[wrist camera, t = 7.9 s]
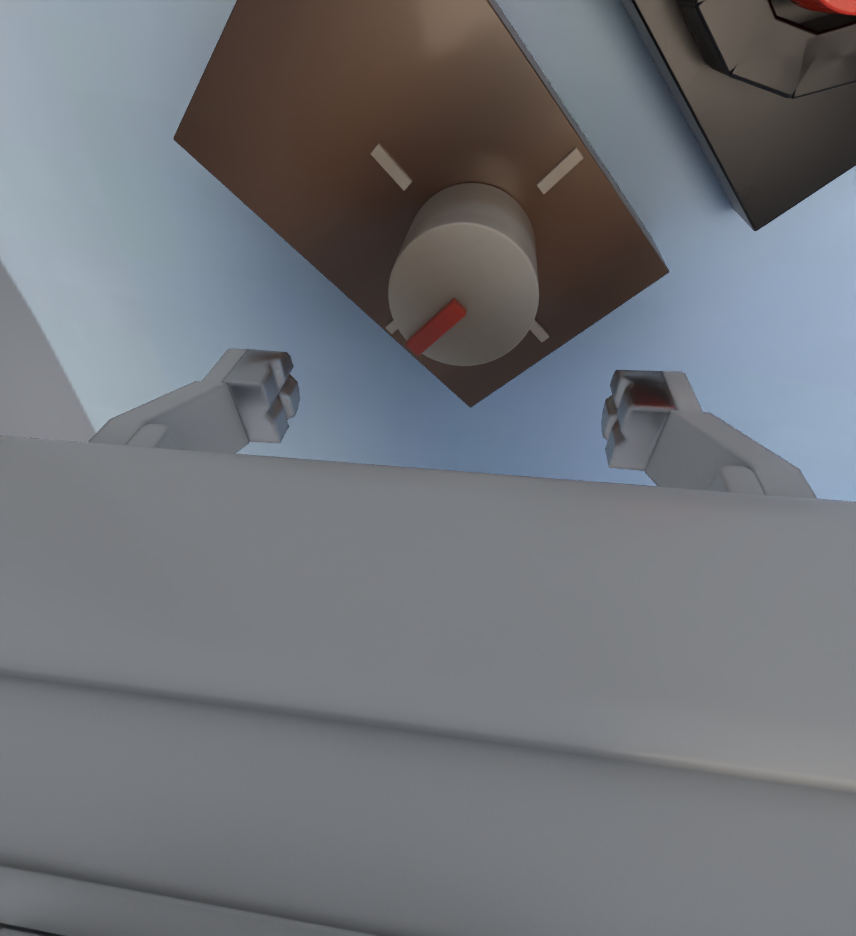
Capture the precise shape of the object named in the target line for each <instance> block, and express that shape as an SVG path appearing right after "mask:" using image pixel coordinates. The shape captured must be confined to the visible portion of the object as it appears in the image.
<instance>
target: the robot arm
mask: <svg viewBox="0 0 856 936" xmlns="http://www.w3.org/2000/svg"><path fill="white" fill-rule="evenodd" d="M292 369H293V363H292V360H291V356H290V355H289V354H288V353H287V352H279V351H266V350H252V349H251V350H249V349H235V348H233V349H228V350H227V351H226V352H225V354H224V355H223V356H222V357H221V358H220V360H219V361H218V362H217V363H216V364H215V366H214V367H213V368H212V369H211V370H210V372H209V373H208V374H207V375H206V376H205V378H204V379H203V380H202V381H201V382H200V381H195V382H193V383H191V384H188V385H186V386H184V387H182V388H179V389H177V390H175V391H173V392H170V393H168V394H166V395H164V396H161V397H159V398H157V399H155V400H152V401H150V402H148V403H146V404H143V405H141V406H139V407H137V408H134V409H132V410H130V411H127V412H125V413H123V414H121V415H118V416H116V417H114V418H112V419H110V420H109V421H108V422H107V423H106V424H105V425H104V426H103V427H102V428H101V429H100V430H99V431H98V432H97V433H96V434H95V435H94V436H93V437H92V438H91V439H90V440H89V442H77V441H64V440H50V439H38V438H26V437H12V436H0V936H856V502H851V501H838V500H825V499H817V498H816V496H815V494H814V493H813V491H812V489H811V488H810V486H809V484H808V483H807V481H806V479H805V478H804V476H803V474H802V473H801V471H800V469H798V468H797V467H795V466H794V465H792V464H791V463H789V462H787V461H786V460H784V459H783V458H781V457H779V456H778V455H776V454H775V453H773V452H771V451H770V450H768V449H767V448H765V447H764V446H762V445H760V444H759V443H757V442H756V441H754V440H752V439H751V438H749V437H748V436H746V435H745V434H743V433H741V432H740V431H738V430H737V429H735V428H733V427H732V426H730V425H729V424H727V423H725V422H724V421H722V420H721V419H719V418H718V417H716V416H714V415H713V414H711V413H709V412H703V411H702V409H701V407H700V405H699V402H698V400H697V398H696V396H695V394H694V392H693V389H692V387H691V385H690V383H689V381H688V379H687V377H686V374H685V373H683V372H679V371H634V370H616V371H615V373H614V375H613V377H612V380H611V384H610V387H611V391H612V395H611V396H610V397H609V398H607V399H606V400H605V404H604V408H603V412H602V420H601V428H602V435H603V437H604V438H605V439H606V440H607V445H606V448H605V450H606V455H607V460H608V465H609V468H619V469H629V470H639V471H645V473H646V474H647V475H648V476H649V477H650V478H651V479H652V480H653V482H654V483H655V484H656V485H657V486H646V485H633V484H620V483H607V482H594V481H581V480H568V479H555V478H542V477H529V476H516V475H503V474H490V473H478V472H465V471H452V470H439V469H426V468H413V467H400V466H387V465H374V464H361V463H348V462H335V461H322V460H310V459H297V458H284V457H271V456H258V455H245V454H235V453H236V452H238V451H239V450H241V449H242V448H243V447H245V446H246V445H247V444H249V442H267V443H281V441H282V439H283V437H284V435H285V433H286V431H287V429H288V428H289V425H288V421H287V420H289V419H290V418H292V417H294V416H295V414H296V412H297V410H298V407H299V401H300V393H299V387H298V382H297V381H296V380H295V379H294V378H293V377H292V376H291V375H290V373H291V371H292Z"/></svg>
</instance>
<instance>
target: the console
mask: <svg viewBox="0 0 856 936" xmlns="http://www.w3.org/2000/svg"><path fill="white" fill-rule="evenodd" d="M174 140H175V141H176V142H177V143H178V144H179V145H180V146H181V147H183V148H184V149H185V150H186V151H187V152H188V153H189V154H190V155H191V156H192V157H194V158H195V159H196V160H197V161H198V162H199V163H200V164H201V165H202V166H204V167H205V168H206V169H207V170H208V171H209V172H210V173H211V174H212V175H213V176H215V177H216V178H217V179H218V180H219V181H220V182H221V183H222V184H223V185H225V186H226V187H227V188H228V189H229V190H230V191H231V192H232V193H233V194H234V195H236V196H237V197H238V198H239V199H240V200H241V201H242V202H243V203H244V204H246V205H247V206H248V207H249V208H250V209H251V210H252V211H253V212H254V213H256V214H257V215H258V216H259V217H260V218H261V219H262V220H263V221H264V222H265V223H267V224H268V225H269V226H270V227H271V228H272V229H273V230H274V231H275V232H277V233H278V234H279V235H280V236H281V237H282V238H283V239H284V240H285V241H286V242H288V243H289V244H290V245H291V246H292V247H293V248H294V249H295V250H296V251H298V252H299V253H300V254H301V255H302V256H303V257H304V258H305V259H306V260H307V261H309V262H310V263H311V264H312V265H313V266H314V267H315V268H316V269H317V270H319V271H320V272H321V273H322V274H323V275H324V276H325V277H326V278H327V279H329V280H330V281H331V282H332V283H333V284H334V285H335V286H336V287H337V288H338V289H340V290H341V291H342V292H343V293H344V294H345V295H346V296H347V297H348V298H350V299H351V300H352V301H353V302H354V303H355V304H356V305H357V306H358V307H359V308H361V309H362V310H363V311H364V312H365V313H366V314H367V315H368V316H369V317H371V318H372V319H373V320H374V321H375V322H376V323H377V324H378V325H379V326H380V327H382V328H383V329H384V330H385V331H386V332H387V333H388V334H389V335H390V336H392V337H393V338H394V339H395V340H396V341H397V342H398V343H399V344H400V345H401V346H403V347H404V348H405V349H406V350H407V351H408V352H409V353H410V354H411V355H413V356H414V357H415V358H416V359H417V360H418V361H419V362H420V363H421V364H423V365H424V366H425V367H426V368H427V369H428V370H429V371H430V372H431V373H432V374H434V375H435V376H436V377H437V378H438V379H439V380H440V381H441V382H442V383H444V384H445V385H446V386H447V387H448V388H449V389H450V390H451V391H452V392H453V393H455V394H456V395H457V396H458V397H459V398H460V399H461V400H462V401H463V402H465V403H466V404H467V405H468V406H469V407H472V406H474V405H475V404H477V403H478V402H480V401H481V400H483V399H484V398H485V397H487V396H488V395H490V394H491V393H493V392H494V391H496V390H497V389H499V388H500V387H502V386H503V385H505V384H506V383H507V382H509V381H510V380H512V379H513V378H515V377H516V376H518V375H519V374H521V373H522V372H524V371H525V370H527V369H528V368H529V367H531V366H532V365H534V364H535V363H537V362H538V361H540V360H541V359H543V358H544V357H546V356H547V355H549V354H550V353H551V352H553V351H554V350H556V349H557V348H559V347H560V346H562V345H563V344H565V343H566V342H568V341H569V340H571V339H572V338H573V337H575V336H576V335H578V334H579V333H581V332H582V331H584V330H585V329H587V328H588V327H590V326H591V325H593V324H594V323H595V322H597V321H598V320H600V319H601V318H603V317H604V316H606V315H607V314H609V313H610V312H612V311H613V310H615V309H616V308H617V307H619V306H620V305H622V304H623V303H625V302H626V301H628V300H629V299H631V298H632V297H634V296H635V295H637V294H638V293H640V292H641V291H642V290H644V289H645V288H647V287H648V286H650V285H651V284H653V283H654V282H656V281H657V280H659V279H660V278H662V277H663V276H664V275H666V274H667V273H669V270H668V268H667V266H666V264H665V262H664V260H663V258H662V256H661V254H660V252H659V250H658V248H657V246H656V245H655V243H654V241H653V239H652V237H651V236H650V234H649V233H648V231H647V229H646V228H645V226H644V225H643V223H642V222H641V220H640V219H639V217H638V216H637V214H636V213H635V211H634V210H633V208H632V207H631V205H630V204H629V202H628V201H627V199H626V198H625V196H624V195H623V193H622V192H621V190H620V189H619V187H618V186H617V184H616V183H615V181H614V180H613V178H612V177H611V175H610V174H609V172H608V171H607V169H606V167H605V166H604V164H603V163H602V161H601V160H600V158H599V157H598V155H597V154H596V152H595V151H594V149H593V148H592V146H591V145H590V143H589V142H588V140H587V139H586V137H585V136H584V134H583V133H582V131H581V130H580V128H579V127H578V125H577V124H576V122H575V121H574V119H573V118H572V116H571V115H570V113H569V112H568V110H567V108H566V107H565V105H564V104H563V102H562V101H561V99H560V98H559V96H558V95H557V93H556V92H555V90H554V89H553V87H552V86H551V84H550V83H549V81H548V80H547V78H546V77H545V75H544V74H543V72H542V71H541V69H540V68H539V66H538V65H537V63H536V62H535V60H534V59H533V57H532V56H531V54H530V53H529V51H528V49H527V48H526V46H525V45H524V43H523V42H522V40H521V39H520V37H519V36H518V34H517V33H516V31H515V30H514V28H513V27H512V25H511V24H510V22H509V21H508V19H507V18H506V16H505V15H504V13H503V12H502V10H501V9H500V7H499V6H498V4H497V3H496V1H495V0H237V1H236V4H235V6H234V8H233V10H232V12H231V14H230V17H229V19H228V21H227V23H226V25H225V27H224V30H223V32H222V34H221V36H220V38H219V40H218V43H217V45H216V47H215V49H214V51H213V53H212V55H211V58H210V60H209V62H208V64H207V66H206V68H205V71H204V73H203V75H202V77H201V79H200V81H199V84H198V86H197V88H196V90H195V92H194V94H193V97H192V99H191V101H190V103H189V105H188V107H187V110H186V112H185V114H184V116H183V118H182V120H181V123H180V125H179V127H178V129H177V131H176V133H175V136H174ZM462 183H482V184H486V185H490V186H493V187H496V188H498V189H500V190H502V191H504V192H505V193H507V194H508V195H510V196H511V197H512V198H514V199H515V200H516V201H517V202H518V203H519V205H520V206H521V207H522V208H523V210H524V211H525V212H526V214H527V216H528V218H529V220H530V222H531V225H532V228H533V231H534V236H535V243H536V257H537V271H538V284H539V304H538V309H537V313H536V316H535V319H534V322H533V324H532V326H531V327H530V329H529V331H528V332H527V334H526V335H525V337H524V338H523V339H522V340H521V341H520V342H519V344H518V345H517V346H515V347H514V348H513V349H512V350H511V351H509V352H508V353H506V354H505V355H503V356H501V357H499V358H497V359H495V360H493V361H490V362H487V363H483V364H479V365H472V366H457V365H450V364H445V363H441V362H439V361H436V360H433V359H431V358H429V357H427V356H425V355H424V354H421V355H419V356H417V355H416V354H415V353H413V352H412V351H411V350H410V349H409V348H408V347H407V346H406V342H407V340H406V339H405V338H404V337H403V335H402V334H401V333H400V331H399V329H398V328H397V326H396V324H395V322H394V319H393V317H392V314H391V310H390V306H389V300H388V287H389V279H390V275H391V272H392V269H393V267H394V264H395V262H396V259H397V257H398V255H399V252H400V250H401V247H402V245H403V243H404V240H405V238H406V236H407V233H408V231H409V228H410V226H411V224H412V221H413V219H414V218H415V216H416V214H417V212H418V211H419V210H420V208H421V207H422V206H423V205H424V204H425V203H426V202H427V201H428V200H429V199H430V198H431V197H432V196H434V195H435V194H436V193H438V192H440V191H442V190H443V189H445V188H448V187H451V186H453V185H458V184H462Z"/></svg>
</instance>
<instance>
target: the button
mask: <svg viewBox="0 0 856 936" xmlns="http://www.w3.org/2000/svg"><path fill="white" fill-rule="evenodd" d="M790 1H791V2H792V3H793V4H795V5H797V6H799V7H801V8H803V9H807V10H811V11H817V12H825V13H834V14H842V15H853V16H856V0H790Z"/></svg>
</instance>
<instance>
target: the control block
mask: <svg viewBox="0 0 856 936" xmlns="http://www.w3.org/2000/svg"><path fill="white" fill-rule="evenodd" d="M620 1H621V3H622V5H623V6H624V8H625V10H626V12H627V14H628V16H629V17H630V19H631V21H632V23H633V25H634V27H635V28H636V30H637V32H638V34H639V36H640V38H641V39H642V41H643V43H644V45H645V47H646V49H647V50H648V52H649V54H650V56H651V58H652V60H653V62H654V63H655V65H656V67H657V69H658V71H659V73H660V74H661V76H662V78H663V80H664V82H665V84H666V85H667V87H668V89H669V91H670V93H671V95H672V96H673V98H674V100H675V102H676V104H677V106H678V107H679V109H680V111H681V113H682V115H683V117H684V119H685V120H686V122H687V124H688V126H689V128H690V130H691V131H692V133H693V135H694V137H695V139H696V141H697V142H698V144H699V146H700V148H701V150H702V152H703V153H704V155H705V157H706V159H707V161H708V163H709V164H710V166H711V168H712V170H713V172H714V174H715V176H716V177H717V179H718V181H719V183H720V185H721V187H722V188H723V190H724V192H725V194H726V196H727V198H728V199H729V201H730V203H731V205H732V207H733V209H734V210H735V211H736V212H737V213H738V214H739V215H740V216H741V217H742V218H743V219H744V221H745V222H746V223H747V224H748V225H749V226H750V227H751V228H752V229H753V230H754V231H757V230H759V229H760V228H762V227H763V226H765V225H766V224H768V223H769V222H771V221H772V220H774V219H775V218H777V217H778V216H780V215H781V214H783V213H784V212H786V211H787V210H789V209H790V208H792V207H793V206H795V205H796V204H798V203H800V202H801V201H803V200H804V199H806V198H807V197H809V196H810V195H812V194H813V193H815V192H816V191H818V190H819V189H821V188H822V187H824V186H825V185H827V184H828V183H830V182H831V181H833V180H834V179H836V178H837V177H839V176H840V175H842V174H843V173H845V172H846V171H848V170H849V169H851V168H852V167H854V166H855V165H856V16H853V15H842V14H834V13H825V12H817V11H811V10H807V9H803V8H801V7H799V6H797V5H795V4H793V3H792V2H791V1H790V0H620Z"/></svg>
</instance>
